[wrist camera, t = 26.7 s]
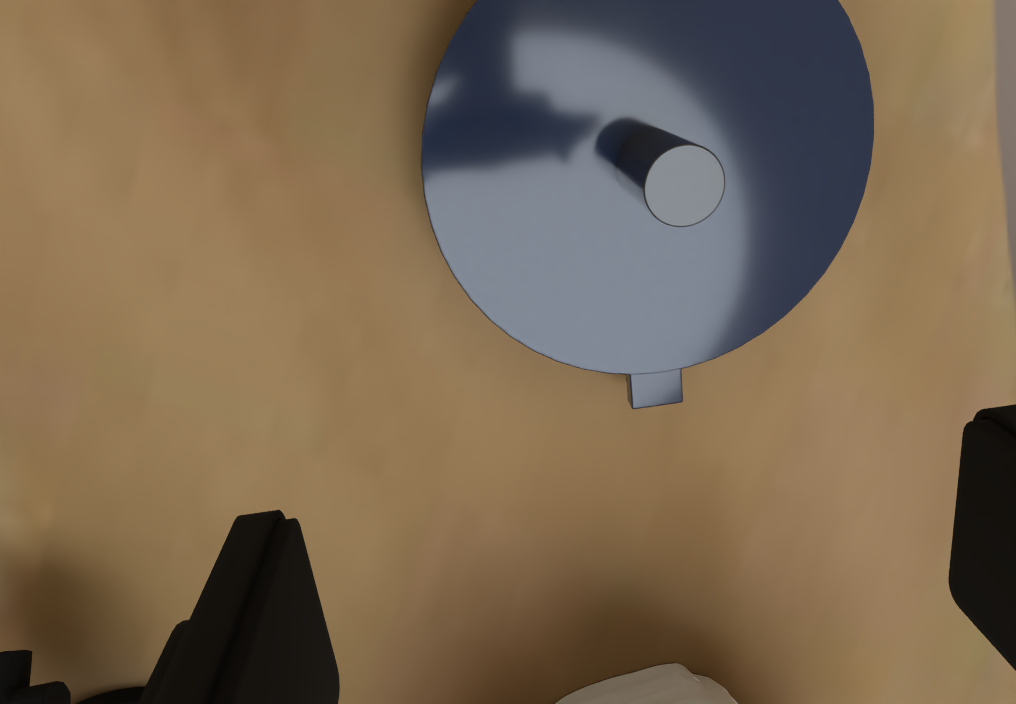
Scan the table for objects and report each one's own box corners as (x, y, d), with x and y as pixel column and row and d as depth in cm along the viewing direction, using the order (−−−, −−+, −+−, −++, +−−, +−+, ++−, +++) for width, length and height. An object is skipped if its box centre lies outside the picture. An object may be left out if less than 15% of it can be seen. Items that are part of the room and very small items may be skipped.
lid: (869, -120, 29) (972, -159, 23) (852, 334, 36) (928, 391, 30) (384, -55, 29) (368, -80, 23) (457, 390, 36) (458, 457, 30)
